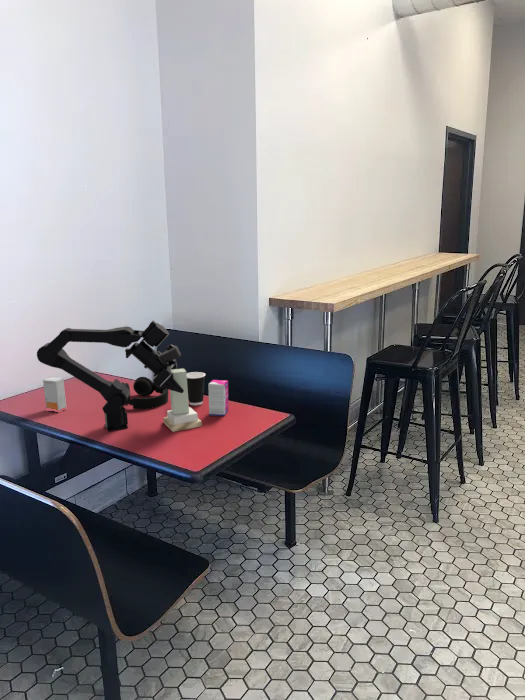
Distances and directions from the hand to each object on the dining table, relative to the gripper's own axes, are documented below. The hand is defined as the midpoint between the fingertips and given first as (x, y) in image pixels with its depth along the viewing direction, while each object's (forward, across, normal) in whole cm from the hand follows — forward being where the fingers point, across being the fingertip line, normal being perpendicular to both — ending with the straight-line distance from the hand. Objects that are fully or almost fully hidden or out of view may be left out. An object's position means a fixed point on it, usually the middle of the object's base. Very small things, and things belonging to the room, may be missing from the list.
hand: (184, 388), depth 192 cm
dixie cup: (+10, +22, +8) cm, 26 cm away
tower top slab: (+7, 0, +8) cm, 11 cm away
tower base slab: (+8, 0, +10) cm, 13 cm away
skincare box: (-25, +20, +44) cm, 54 cm away
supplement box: (+17, +10, +2) cm, 19 cm away
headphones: (-4, +27, +22) cm, 35 cm away
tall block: (+4, 0, +7) cm, 8 cm away
